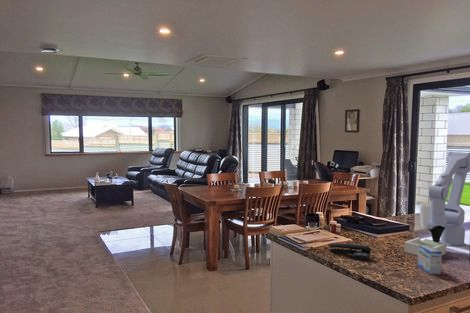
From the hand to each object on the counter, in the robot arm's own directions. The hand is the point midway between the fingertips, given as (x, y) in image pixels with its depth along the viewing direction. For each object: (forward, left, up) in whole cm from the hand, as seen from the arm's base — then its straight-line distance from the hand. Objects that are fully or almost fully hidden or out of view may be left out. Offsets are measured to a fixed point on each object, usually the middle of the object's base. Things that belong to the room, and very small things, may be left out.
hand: (435, 242), depth 164 cm
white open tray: (+9, +4, -3) cm, 11 cm away
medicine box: (+22, +22, -3) cm, 31 cm away
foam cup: (-23, -32, -3) cm, 40 cm away
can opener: (+44, +1, -4) cm, 44 cm away
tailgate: (+4, +2, -1) cm, 5 cm away
